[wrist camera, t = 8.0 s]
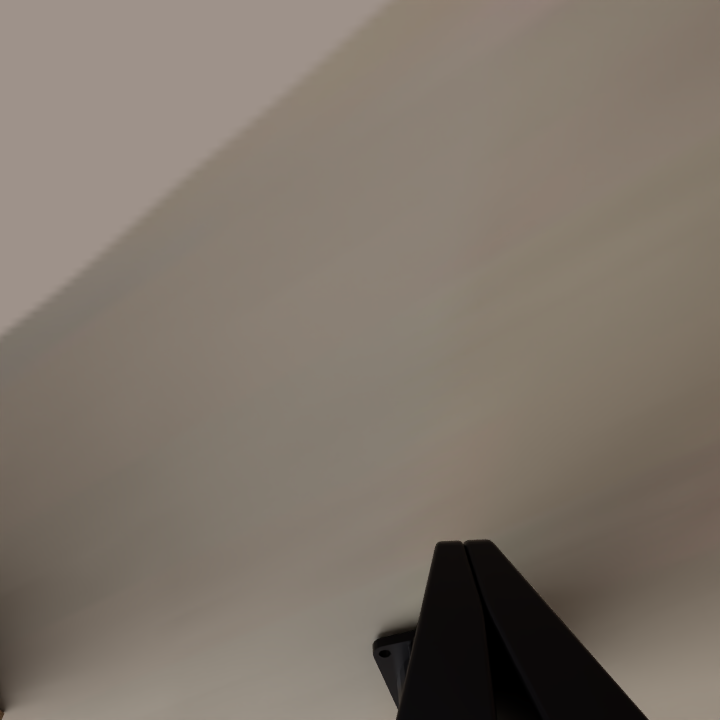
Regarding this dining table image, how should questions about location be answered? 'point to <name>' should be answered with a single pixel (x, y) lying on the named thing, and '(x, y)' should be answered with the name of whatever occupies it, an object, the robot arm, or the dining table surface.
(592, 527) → the dining table surface
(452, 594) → the robot arm
